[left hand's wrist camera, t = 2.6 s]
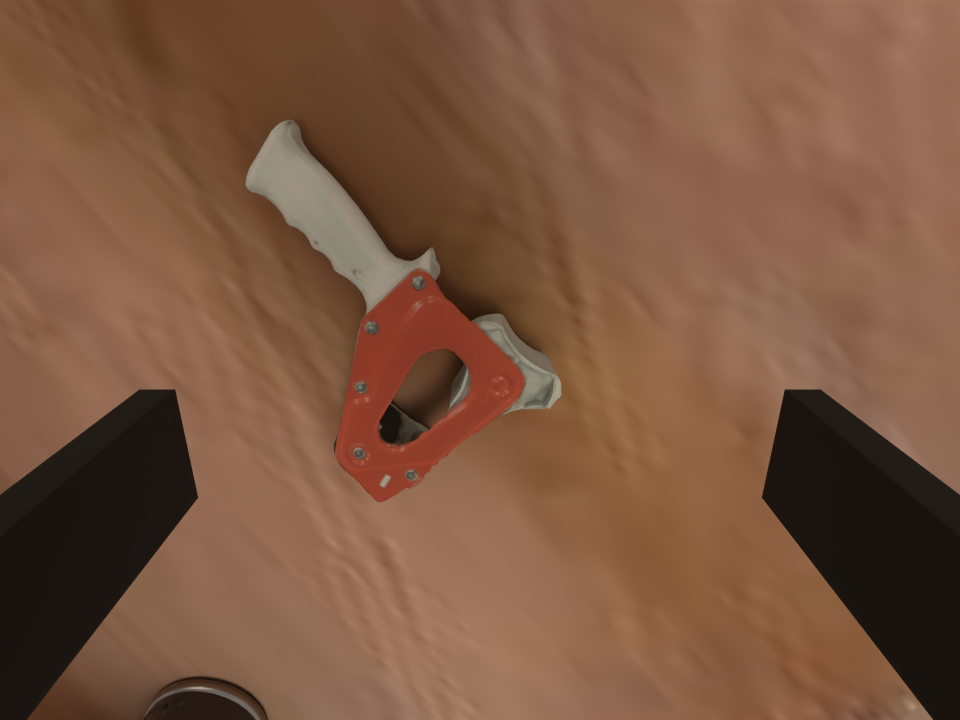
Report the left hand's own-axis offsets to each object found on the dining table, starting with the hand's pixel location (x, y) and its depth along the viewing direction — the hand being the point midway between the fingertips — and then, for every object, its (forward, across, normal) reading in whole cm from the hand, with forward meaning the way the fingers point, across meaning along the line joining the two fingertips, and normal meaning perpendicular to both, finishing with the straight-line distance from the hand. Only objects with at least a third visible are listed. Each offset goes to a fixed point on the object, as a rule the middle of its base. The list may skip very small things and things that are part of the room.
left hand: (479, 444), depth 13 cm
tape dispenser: (+22, -4, -4) cm, 23 cm away
